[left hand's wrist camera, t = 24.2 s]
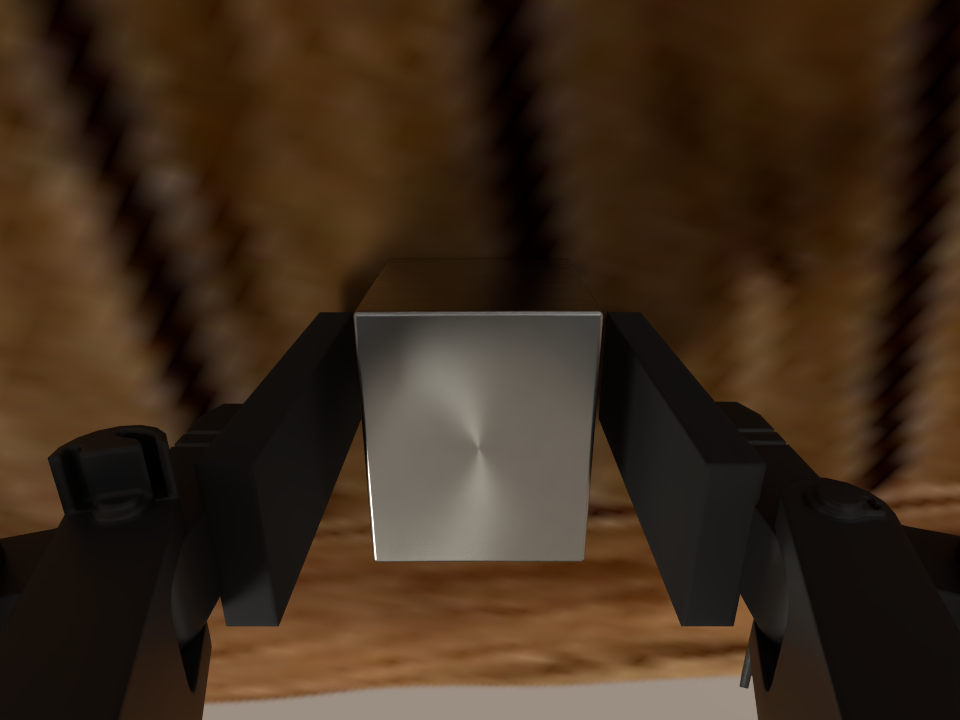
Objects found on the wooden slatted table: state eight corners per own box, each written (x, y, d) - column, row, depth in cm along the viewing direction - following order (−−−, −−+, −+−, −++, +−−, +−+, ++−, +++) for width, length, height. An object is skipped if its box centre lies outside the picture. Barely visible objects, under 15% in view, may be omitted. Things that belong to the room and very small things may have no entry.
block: (559, 454, 16) (585, 562, 12) (398, 454, 16) (372, 563, 12) (569, 258, 14) (605, 311, 10) (387, 258, 14) (351, 311, 10)
